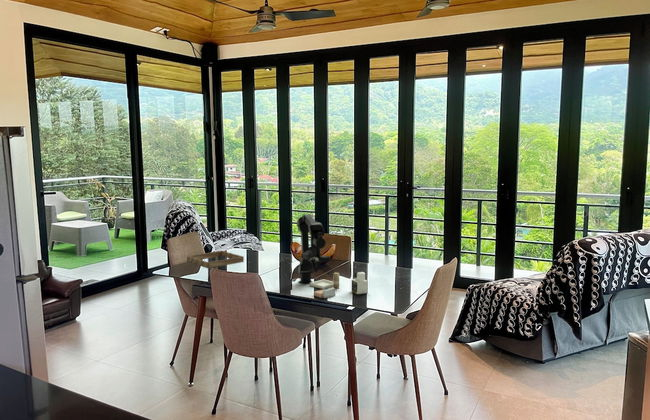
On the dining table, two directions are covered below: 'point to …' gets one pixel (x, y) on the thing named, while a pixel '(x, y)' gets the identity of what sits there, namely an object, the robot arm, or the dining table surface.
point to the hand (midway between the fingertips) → (315, 271)
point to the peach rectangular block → (318, 293)
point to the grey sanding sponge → (328, 292)
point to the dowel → (336, 280)
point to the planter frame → (198, 261)
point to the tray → (322, 284)
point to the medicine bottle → (359, 283)
